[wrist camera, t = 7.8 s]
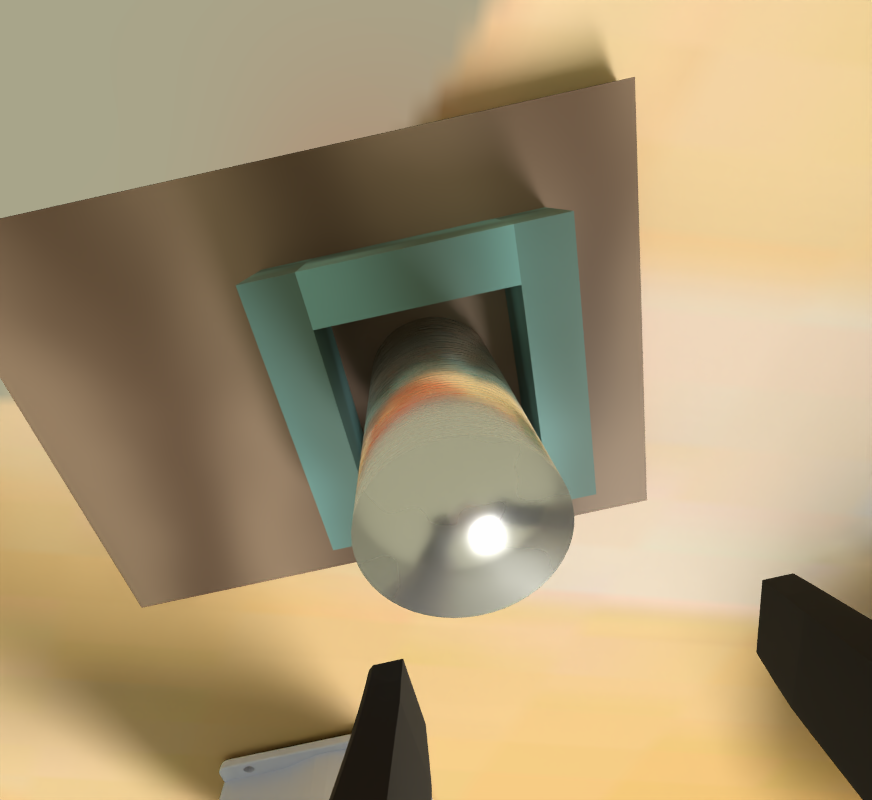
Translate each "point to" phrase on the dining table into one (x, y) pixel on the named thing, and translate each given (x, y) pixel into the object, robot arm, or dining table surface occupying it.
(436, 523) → the steel pin
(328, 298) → the socket board
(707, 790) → the dining table surface
